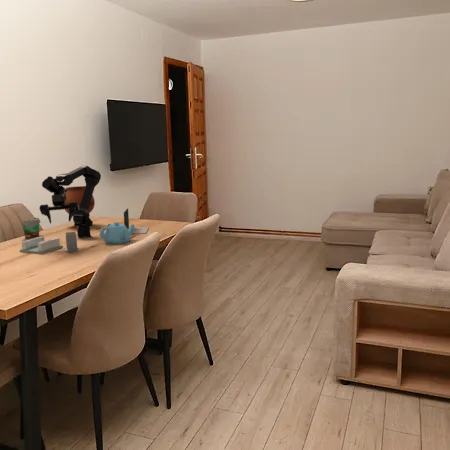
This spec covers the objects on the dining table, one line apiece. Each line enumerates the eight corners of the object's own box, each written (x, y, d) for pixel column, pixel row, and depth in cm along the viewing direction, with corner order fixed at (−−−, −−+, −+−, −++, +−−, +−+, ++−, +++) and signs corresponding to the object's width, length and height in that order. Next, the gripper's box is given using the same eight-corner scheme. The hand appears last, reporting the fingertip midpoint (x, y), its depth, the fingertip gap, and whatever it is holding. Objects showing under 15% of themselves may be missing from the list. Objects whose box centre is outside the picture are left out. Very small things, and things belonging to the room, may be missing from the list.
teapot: (109, 238, 265) (108, 219, 264) (135, 239, 263) (134, 219, 261) (98, 244, 251) (97, 224, 249) (126, 245, 248) (125, 224, 246)
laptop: (146, 234, 277) (145, 212, 275) (124, 234, 276) (123, 212, 274) (148, 228, 295) (148, 207, 293) (128, 228, 294) (127, 207, 292)
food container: (33, 239, 265) (31, 221, 264) (23, 238, 267) (21, 221, 265) (45, 234, 277) (44, 217, 275) (36, 234, 279) (34, 217, 277)
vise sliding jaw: (37, 243, 249) (37, 236, 249) (44, 244, 248) (44, 236, 247) (18, 248, 238) (18, 241, 237) (25, 249, 236) (25, 241, 235)
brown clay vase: (58, 228, 295) (55, 188, 290) (74, 223, 313) (72, 185, 309) (86, 229, 291) (84, 189, 286) (101, 224, 309) (99, 185, 305)
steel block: (76, 249, 240) (74, 231, 239) (77, 252, 234) (76, 234, 232) (66, 250, 239) (65, 232, 237) (68, 253, 232) (66, 235, 231)
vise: (41, 245, 250) (40, 235, 249) (63, 247, 245) (62, 237, 244) (19, 251, 236) (18, 241, 235) (41, 253, 231) (41, 243, 230)
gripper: (36, 189, 240) (36, 216, 233) (75, 186, 243) (76, 212, 236) (41, 201, 250) (42, 227, 242) (78, 197, 253) (79, 223, 246)
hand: (59, 222), depth 241 cm, fingers open, 9 cm apart
